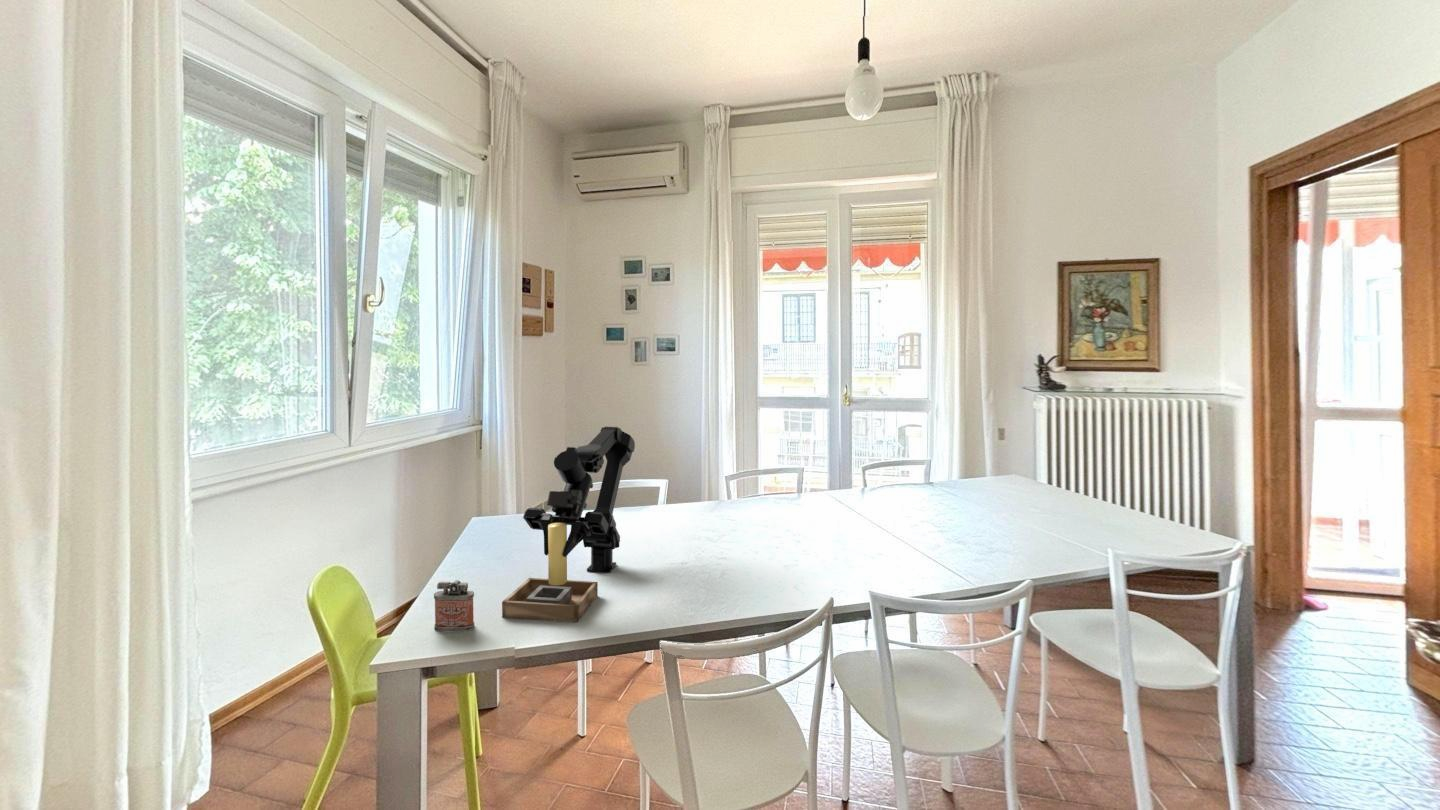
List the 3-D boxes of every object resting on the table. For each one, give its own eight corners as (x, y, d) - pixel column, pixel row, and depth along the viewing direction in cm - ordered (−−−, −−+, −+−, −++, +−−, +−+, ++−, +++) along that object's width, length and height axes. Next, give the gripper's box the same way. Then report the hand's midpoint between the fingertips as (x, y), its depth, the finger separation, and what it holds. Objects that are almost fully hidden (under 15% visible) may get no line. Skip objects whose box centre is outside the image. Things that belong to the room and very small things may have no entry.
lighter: (477, 624, 124) (476, 578, 123) (470, 631, 120) (470, 584, 119) (438, 624, 123) (437, 578, 123) (431, 631, 120) (430, 584, 119)
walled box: (529, 591, 141) (529, 576, 141) (597, 596, 139) (597, 580, 139) (502, 617, 127) (502, 600, 127) (577, 622, 125) (577, 605, 125)
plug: (560, 577, 133) (559, 521, 132) (570, 581, 130) (570, 525, 129) (544, 582, 130) (544, 525, 128) (555, 586, 127) (555, 529, 126)
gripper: (526, 473, 133) (501, 535, 123) (603, 478, 130) (584, 541, 120) (542, 498, 142) (520, 558, 132) (615, 503, 139) (598, 564, 129)
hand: (554, 555), depth 128 cm, fingers closed on plug, 4 cm apart
